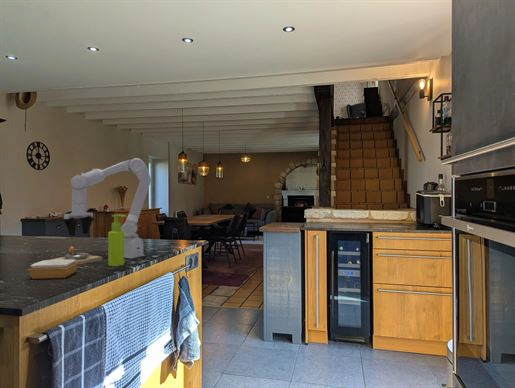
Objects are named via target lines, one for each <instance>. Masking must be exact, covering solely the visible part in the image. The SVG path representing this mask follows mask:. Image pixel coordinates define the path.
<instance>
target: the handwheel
mask: <svg viewBox="0 0 515 388" xmlns="http://www.w3.org/2000/svg"><path fill="white" fill-rule="evenodd" d="M68 249H69V251H68V253H67V254H64V256H63V257H64V258H65V259H83V258H87V257H89V255H90V254H89V253H88V252H80V251H75V246H69V247H68Z"/></svg>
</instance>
